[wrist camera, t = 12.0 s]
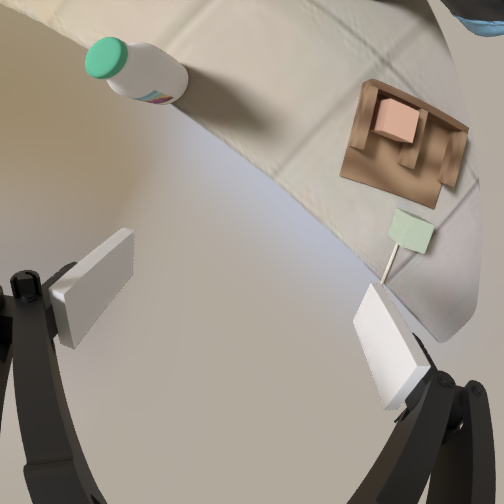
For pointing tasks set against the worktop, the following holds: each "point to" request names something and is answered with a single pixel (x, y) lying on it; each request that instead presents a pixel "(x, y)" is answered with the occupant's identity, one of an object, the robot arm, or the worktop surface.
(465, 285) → the worktop surface
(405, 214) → the green headed mallet
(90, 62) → the milk bottle
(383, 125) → the terracotta block
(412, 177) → the lane shelf
